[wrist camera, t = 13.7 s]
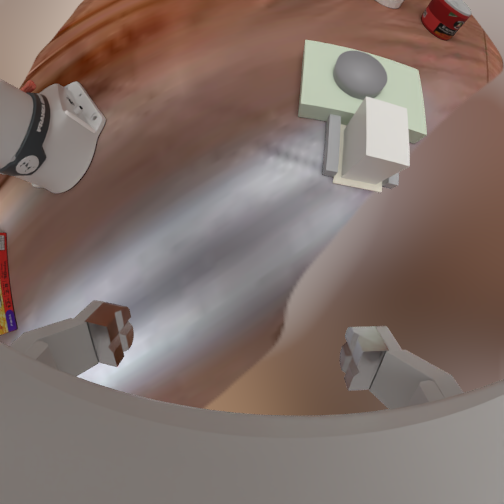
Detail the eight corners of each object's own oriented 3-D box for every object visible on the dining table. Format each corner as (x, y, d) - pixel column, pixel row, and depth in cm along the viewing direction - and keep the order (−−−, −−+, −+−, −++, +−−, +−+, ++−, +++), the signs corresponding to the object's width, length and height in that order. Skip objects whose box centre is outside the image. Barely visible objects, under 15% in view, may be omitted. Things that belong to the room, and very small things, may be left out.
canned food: (434, 40, 31) (457, 11, 20) (413, 14, 31) (431, -16, 20) (455, 42, 30) (478, 17, 19) (436, 17, 30) (454, -9, 19)
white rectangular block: (375, 184, 33) (409, 166, 23) (341, 177, 33) (366, 155, 23) (376, 137, 33) (406, 108, 23) (343, 130, 33) (365, 96, 23)
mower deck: (413, 200, 33) (438, 193, 27) (291, 176, 34) (296, 162, 28) (408, 81, 32) (424, 62, 26) (303, 55, 33) (307, 29, 27)
